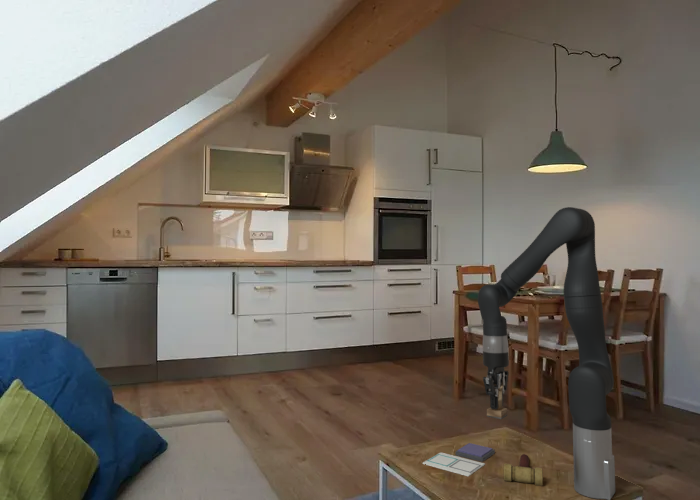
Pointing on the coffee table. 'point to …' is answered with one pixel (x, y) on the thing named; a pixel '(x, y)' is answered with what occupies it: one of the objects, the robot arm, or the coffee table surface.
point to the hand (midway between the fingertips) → (497, 407)
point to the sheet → (454, 464)
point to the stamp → (499, 412)
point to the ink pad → (475, 452)
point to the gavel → (523, 472)
